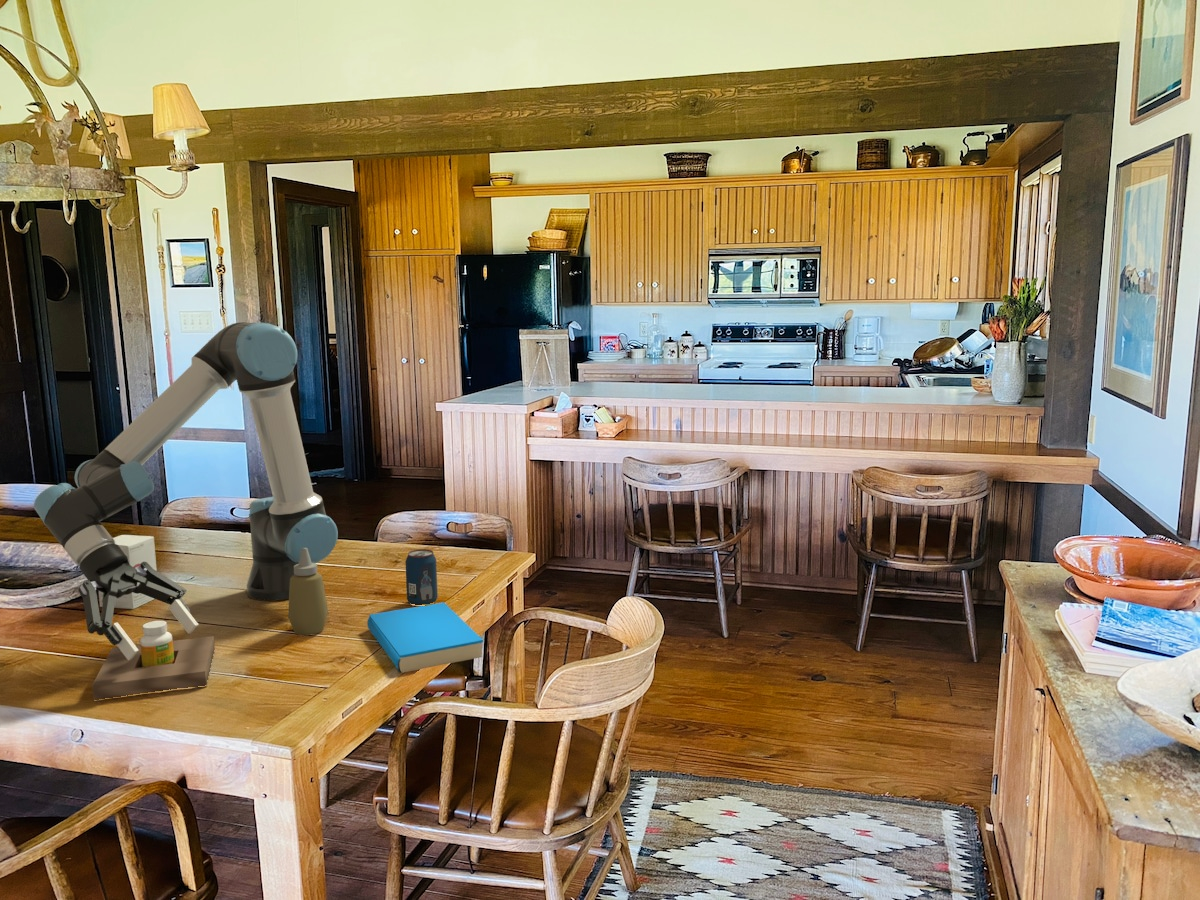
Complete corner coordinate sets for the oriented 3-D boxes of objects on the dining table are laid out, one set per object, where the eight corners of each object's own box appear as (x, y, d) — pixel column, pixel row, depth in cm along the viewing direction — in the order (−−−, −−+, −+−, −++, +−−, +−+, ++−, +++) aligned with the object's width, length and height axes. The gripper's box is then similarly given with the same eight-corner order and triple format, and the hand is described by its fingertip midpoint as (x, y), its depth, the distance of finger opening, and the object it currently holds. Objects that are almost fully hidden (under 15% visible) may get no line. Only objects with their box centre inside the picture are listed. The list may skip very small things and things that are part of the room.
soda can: (420, 596, 209) (418, 547, 207) (443, 600, 206) (442, 550, 204) (400, 605, 203) (398, 554, 201) (424, 609, 200) (422, 558, 198)
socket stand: (214, 650, 177) (213, 636, 176) (206, 687, 160) (205, 671, 159) (113, 662, 171) (112, 647, 170) (93, 701, 154) (92, 685, 154)
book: (443, 602, 195) (484, 637, 173) (444, 620, 195) (485, 659, 173) (365, 615, 187) (397, 654, 165) (366, 634, 187) (398, 676, 165)
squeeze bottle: (292, 640, 182) (286, 555, 179) (286, 628, 189) (281, 546, 186) (332, 633, 185) (328, 550, 182) (325, 621, 192) (320, 541, 189)
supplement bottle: (159, 681, 162) (154, 630, 161) (136, 677, 164) (131, 627, 162) (182, 669, 167) (177, 620, 166) (159, 666, 169) (154, 617, 167)
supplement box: (133, 610, 200) (127, 546, 198) (98, 607, 202) (92, 544, 200) (160, 597, 209) (155, 535, 206) (127, 594, 211) (121, 533, 208)
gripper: (143, 550, 179) (206, 630, 176) (25, 586, 156) (95, 679, 153) (161, 527, 176) (225, 608, 174) (43, 560, 154) (115, 654, 151)
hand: (164, 642), depth 163 cm, fingers open, 13 cm apart
